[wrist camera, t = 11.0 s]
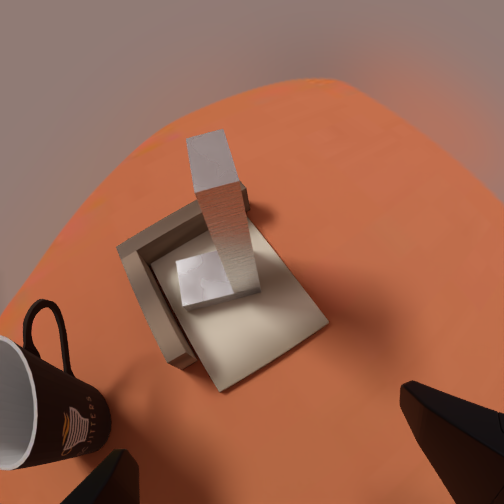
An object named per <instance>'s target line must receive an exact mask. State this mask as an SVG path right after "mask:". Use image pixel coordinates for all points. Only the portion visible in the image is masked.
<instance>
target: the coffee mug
mask: <svg viewBox="0 0 504 504" xmlns="http://www.w3.org/2000/svg"><path fill="white" fill-rule="evenodd" d="M45 307H49V308H50V309H51V310H52V312H53V313H54V316H55V318H56V322H57V324H58V328H59V334H60V342H61V351H62V359H63V366H64V372H63V371H62V370H60V369H58V368H56V367H54V366H53V365H51V364H49V363H47V362H46V361H44V360H42V359H40V358H41V357H40V354H39V352H38V351H37V349H36V347H35V346H34V344H33V341H32V336H31V330H32V323H33V320H34V318H35V316H36V314H37V313H38V312H39V311H40V310H41V309H43V308H45ZM23 342H24V344H23V348H22V347H21V346H19V345H18V344H16V343H15V342H13V341H12V340H10V339H8V338H7V337H4V336H1V335H0V469H1V470H15V469H21V468H26V467H32V466H37V465H42V464H47V463H52V462H56V461H60V460H65V459H69V458H73V457H77V456H81V455H85V454H88V453H92V452H95V451H97V450H99V449H100V448H101V447H102V446H103V445H104V444H105V443H106V441H107V439H108V437H109V434H110V430H111V415H110V411H109V408H108V405H107V403H106V401H105V399H104V398H103V396H102V395H101V394H100V392H99V391H98V390H97V389H95V388H94V387H93V386H91V385H89V384H87V383H85V382H83V381H81V380H79V379H77V378H76V377H75V376H74V374H73V372H72V370H71V365H70V357H69V349H68V341H67V333H66V328H65V324H64V320H63V317H62V314H61V311H60V309H59V307H58V306H57V305H56V304H55V303H54V302H53V301H49V300H45V299H39V300H37V301H36V302H35V303H34V304H33V305H32V306H31V307H30V309H29V310H28V312H27V314H26V316H25V319H24V322H23Z"/></svg>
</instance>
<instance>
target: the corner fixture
mask: <svg viewBox="0 0 504 504" xmlns="http://www.w3.org/2000/svg"><path fill="white" fill-rule="evenodd" d="M239 182H240V187H241V192H242V197H243V202H244V207H245V212H247V211H248V210H250V206H249V201H248V195H247V189H246V187H245V186H244V185H243V184H242V183H241V181H240V180H239ZM246 217H247V216H246ZM247 222H248V227H249V232H250V237H251V242H252V247H253V252H254V257H255V262H256V267H257V272H258V277H259V282H260V288H261V293H258V294H254V295H250V296H247V297H243V298H239V299H235V300H231V301H227V302H223V303H219V304H216V305H212V306H208V307H204V308H200V309H195V310H191V311H186V310H185V308H184V307H183V306H182V299H181V293H180V286H179V279H178V272H177V265H176V261H178V260H182V259H186V258H190V257H193V256H197V255H201V254H204V253H208V252H212V251H216V247H215V245H214V242H213V239H212V237H211V234H210V232H209V229H208V227H207V224H206V221H205V219H204V216H203V214H202V211H201V208H200V206H199V203H198V200H195V201H193V202H192V203H190V204H188V205H186V206H184V207H183V208H181V209H179V210H177V211H176V212H174V213H172V214H170V215H169V216H167V217H165V218H163V219H162V220H160V221H158V222H157V223H155V224H153V225H151V226H150V227H148V228H146V229H145V230H143V231H141V232H140V233H138V234H136V235H135V236H133V237H131V238H130V239H128V240H126V241H125V242H123V243H121V244H120V245H118V246H117V247H116V248H117V251H118V253H119V256H120V259H121V261H122V264H123V266H124V269H125V271H126V274H127V276H128V279H129V281H130V283H131V286H132V288H133V291H134V293H135V295H136V298H137V300H138V302H139V305H140V307H141V309H142V311H143V314H144V316H145V318H146V320H147V322H148V324H149V327H150V329H151V331H152V333H153V335H154V337H155V339H156V341H157V343H158V345H159V347H160V349H161V351H162V353H163V355H164V357H165V359H166V361H167V363H168V364H170V365H172V366H174V367H176V368H178V369H181V370H182V369H183V368H185V367H187V366H189V365H190V364H192V363H194V362H196V361H197V358H196V356H195V355H194V353H193V351H192V349H191V347H190V346H189V344H188V342H187V340H186V338H185V337H184V335H183V333H182V331H181V329H180V327H179V325H178V323H177V321H176V320H175V318H174V316H173V314H172V312H171V310H170V308H169V306H168V304H167V302H166V300H165V298H164V296H163V294H162V292H161V290H160V288H159V286H158V284H157V282H156V280H155V278H154V276H153V273H152V271H151V269H150V267H151V266H152V268H153V271H154V273H155V275H156V277H157V279H158V281H159V283H160V285H161V287H162V289H163V291H164V293H165V295H166V297H167V299H168V301H169V303H170V305H171V307H172V309H173V311H174V313H175V314H176V316H177V318H178V320H179V322H180V324H181V326H182V328H183V330H184V331H185V333H186V335H187V337H188V339H189V341H190V342H191V344H192V346H193V348H194V350H195V351H196V353H197V355H198V357H199V358H200V360H201V362H202V364H203V365H204V367H205V369H206V371H207V372H208V374H209V376H210V377H211V379H212V381H213V382H214V384H215V386H216V387H217V389H218V391H219V392H222V391H224V390H225V389H227V388H229V387H231V386H232V385H234V384H236V383H237V382H239V381H241V380H242V379H244V378H246V377H247V376H249V375H251V374H252V373H254V372H256V371H257V370H259V369H261V368H262V367H264V366H265V365H267V364H269V363H270V362H272V361H273V360H275V359H276V358H278V357H280V356H281V355H283V354H284V353H286V352H287V351H289V350H290V349H292V348H293V347H295V346H296V345H298V344H299V343H301V342H302V341H304V340H305V339H307V338H308V337H310V336H311V335H313V334H314V333H316V332H317V331H318V330H320V329H321V328H323V327H324V326H326V325H327V324H328V323H329V321H328V320H327V318H326V317H325V316H324V314H323V313H322V312H321V311H320V309H319V308H318V307H317V305H316V304H315V303H314V301H313V300H312V299H311V298H310V296H309V295H308V294H307V292H306V291H305V290H304V288H303V287H302V286H301V285H300V283H299V282H298V281H297V279H296V278H295V277H294V276H293V274H292V273H291V272H290V270H289V269H288V268H287V267H286V265H285V264H284V263H283V261H282V260H281V259H280V258H279V256H278V255H277V254H276V253H275V251H274V250H273V249H272V247H271V246H270V245H269V244H268V242H267V241H266V240H265V239H264V237H263V236H262V235H261V233H260V232H259V231H258V230H257V228H256V227H255V226H254V225H253V223H252V222H251V221H250V220H249V218H248V217H247Z"/></svg>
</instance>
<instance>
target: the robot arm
mask: <svg viewBox="0 0 504 504" xmlns="http://www.w3.org/2000/svg"><path fill="white" fill-rule="evenodd" d="M400 407H401V410H402V412H403V414H404V416H405V418H406V420H407V422H408V424H409V426H410V428H411V430H412V432H413V434H414V437H415V439H416V441H417V443H418V444H419V446H420V448H421V449H422V451H423V452H424V454H425V455H426V457H427V458H428V460H429V462H430V463H431V465H432V466H433V468H434V469H435V471H436V472H437V474H438V476H439V477H440V479H441V480H442V482H443V484H444V485H445V487H446V488H447V490H448V492H449V493H450V495H451V496H452V498H453V500H454V501H455V503H456V504H504V414H503V413H500V412H499V413H498V412H497V411H494V410H491V409H488V408H485V407H483V406H480V405H477V404H474V403H471V402H469V401H466V400H463V399H460V398H458V397H455V396H452V395H450V394H447V393H444V392H442V391H439V390H437V389H434V388H431V387H429V386H426V385H424V384H421V383H419V382H416V381H413V380H412V381H409V382H407V383H404V384H402V385H401V388H400ZM60 504H140V496H139V466H138V464H137V462H136V461H135V459H134V458H133V457H132V455H131V454H130V453H129V451H128V450H127V449H114V450H113V451H112V452H111V453H110V454H109V455H108V456H107V457H106V458H105V459H104V460H103V461H102V462H101V463H100V464H99V465H98V466H97V467H96V468H95V469H94V470H93V471H92V472H91V473H90V474H89V475H88V476H87V477H86V478H85V479H84V480H83V481H82V482H81V483H80V484H79V485H78V486H77V487H76V488H75V489H74V490H73V491H72V492H71V493H70V494H69V495H68V496H67V497H66V498H65V499H64V500H63V501H62V502H61V503H60Z"/></svg>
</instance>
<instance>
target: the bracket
mask: <svg viewBox="0 0 504 504" xmlns="http://www.w3.org/2000/svg"><path fill="white" fill-rule="evenodd" d="M186 142H187V149H188V155H189V162H190V168H191V174H192V180H193V186H194V192H195V195H196V198H197V200H198V203H199V206H200V208H201V211H202V214H203V216H204V219H205V221H206V224H207V227H208V229H209V232H210V234H211V237H212V239H213V242H214V245H215V247H216V251H212V252H208V253H204V254H201V255H197V256H193V257H190V258H186V259H182V260H178V261H176V265H177V272H178V279H179V286H180V293H181V299H182V306H183V307H184V308H185V310H186V311H191V310H195V309H200V308H204V307H208V306H212V305H216V304H219V303H223V302H227V301H231V300H235V299H239V298H243V297H247V296H250V295H254V294H258V293H261V288H260V282H259V277H258V272H257V267H256V262H255V257H254V252H253V247H252V242H251V237H250V232H249V227H248V222H247V217H246V212H245V207H244V202H243V197H242V192H241V187H240V182H239V178H238V175H237V172H236V168H235V165H234V162H233V159H232V155H231V152H230V149H229V146H228V143H227V139H226V136H225V133H224V130H223V129H221V130H217V131H213V132H209V133H205V134H201V135H198V136H194V137H191V138H187V139H186Z"/></svg>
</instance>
